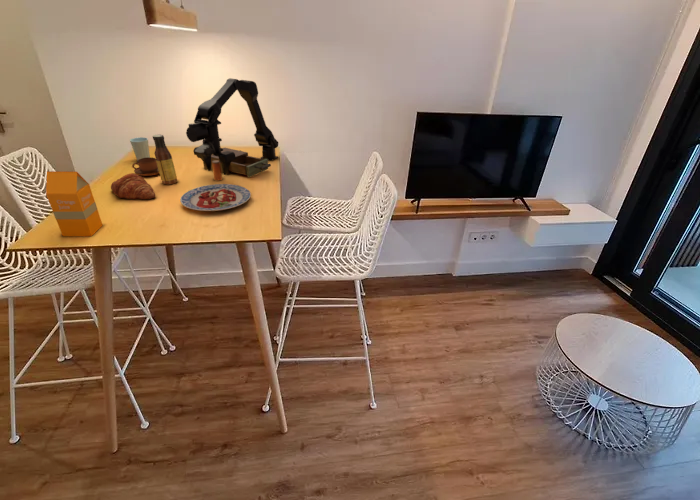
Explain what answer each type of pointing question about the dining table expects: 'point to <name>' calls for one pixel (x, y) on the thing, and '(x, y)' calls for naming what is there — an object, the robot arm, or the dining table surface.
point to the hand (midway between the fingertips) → (217, 172)
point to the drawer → (248, 165)
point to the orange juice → (72, 203)
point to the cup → (140, 147)
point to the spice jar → (216, 170)
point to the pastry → (132, 187)
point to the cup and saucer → (146, 167)
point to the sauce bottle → (164, 161)
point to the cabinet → (237, 152)
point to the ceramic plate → (215, 197)
